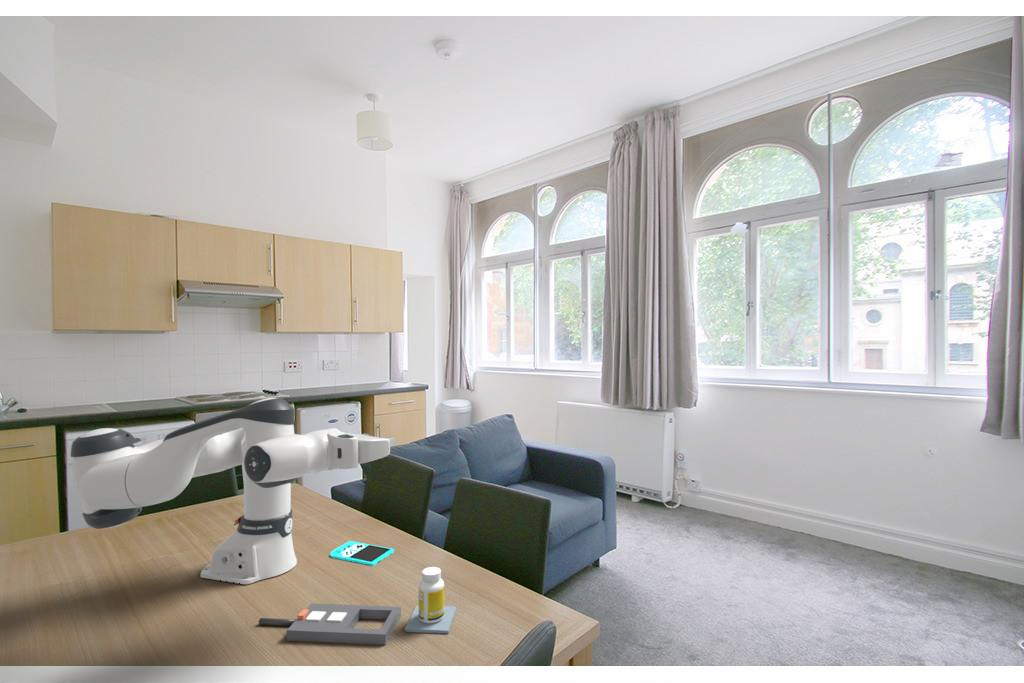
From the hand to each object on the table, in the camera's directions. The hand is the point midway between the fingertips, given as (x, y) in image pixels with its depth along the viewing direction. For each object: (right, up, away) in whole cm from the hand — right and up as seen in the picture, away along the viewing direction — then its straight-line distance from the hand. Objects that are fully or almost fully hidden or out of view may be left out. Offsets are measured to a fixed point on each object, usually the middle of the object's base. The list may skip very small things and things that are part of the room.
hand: (380, 438), depth 116 cm
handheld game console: (-11, -37, +19) cm, 43 cm away
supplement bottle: (+15, -35, -14) cm, 41 cm away
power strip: (-7, -36, -16) cm, 40 cm away
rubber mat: (+15, -36, -14) cm, 41 cm away
